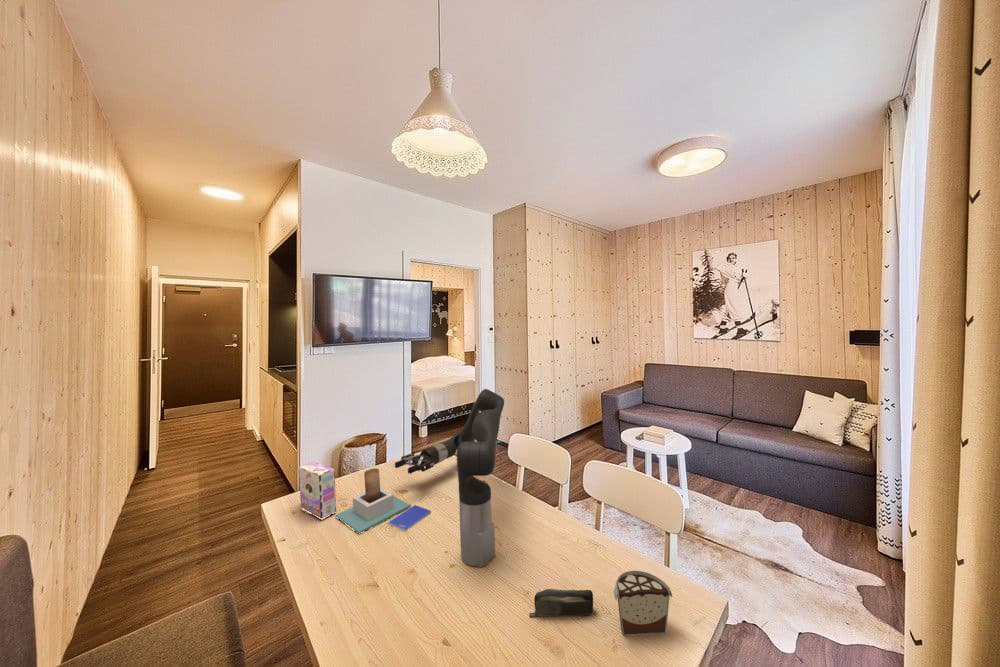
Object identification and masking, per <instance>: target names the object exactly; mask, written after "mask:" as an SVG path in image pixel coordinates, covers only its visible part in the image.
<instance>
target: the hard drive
mask: <svg viewBox="0 0 1000 667" xmlns="http://www.w3.org/2000/svg"><path fill="white" fill-rule="evenodd" d="M431 514H432V510H430V509H427V508H424V507H422V506H420V505H416V504H415V505H413V506H412V507H411V508H409V509H407V510H405V511H403V512H401V513H399V514H398V515H396V517H394V518H391V519H390V520H389V521H388V522H387V525H388V526H390V527H392V526H393V527H392V528H394V527H395V528H394V529H396V528H398V529H397V530H399V529H400V531H401V530H402V531H401V532H403V531H404V533H406V532H407V531H409V530H410V529H412V528H413V527H414V526H415V525H417V524H418V523H419V522H421V521H422V520H424V519H425V518H426V517H428V516H429V515H431ZM408 529H409V530H408Z"/></svg>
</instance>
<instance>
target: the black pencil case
mask: <svg viewBox="0 0 1000 667" xmlns="http://www.w3.org/2000/svg"><path fill="white" fill-rule="evenodd" d="M593 593H594V592H593V591H592V590H591V589H578V590H577V589H556V588H548V589H547V588H545V589H544V590H541V591H538V592H536V594H535V595H534V602H533V603H534V608H535V609H534V612H529V614H528V615H529V617H532V618H533V617H561V616H562V617H564V616H565V617H587V616H591V615H592V614H593V612H594V594H593Z"/></svg>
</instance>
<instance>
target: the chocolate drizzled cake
mask: <svg viewBox="0 0 1000 667" xmlns="http://www.w3.org/2000/svg"><path fill="white" fill-rule="evenodd" d="M613 594H614V599H615V601H617V603H618V605H617V606H618V612H619V614H618V615H619V622H620V630H621V634H622V637H633V636H649V635H666V634H667V626H668V625H667V624H668V616H669V615H668V614H669V607H670V597H671V598H673V593H672V590H671V588H670V586H669V585H668V584H667V583H666V582H665V581H664V580H662V579H661V578H659V577H658V576H656V575H654V574H652V573H649V572H647V571H642V570H629V571H625V572H623V573H621V574H620V575H619V576H618V578H617V580H616V581H615V585H614V589H613Z"/></svg>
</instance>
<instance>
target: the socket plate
mask: <svg viewBox="0 0 1000 667" xmlns="http://www.w3.org/2000/svg"><path fill="white" fill-rule="evenodd" d="M380 493H381V498H380V499H378V500H376V501H374V502H372V503H370V504H369V503H368V502H366V493H365V492H363V493H360V494H358V495H357V496H354V497H352V505H353V506H352V507H350V508H348V509H346V510H343V511H341V512H339V513H336V514H335V518H336V517H338V518H339V519H341V520H342V521H343V522H345V523H346V524H347V525H349V526H350V527H351V528H353V529H354V530H355V531H356V532H358V533H361V532H363V531H365V530H367V529H369V530H371V529H372V528H371V527H373V528H375V527H377V526H379V525H380V523H381V524H382V523H384V522H386V521H388V520H390V519H392V518H393V516H394V517H395V515H396V516H398V515H400V514H402V513H403V512H405V511H407V510H408V508H409V509H410V507H411V503H408V502H405V501H404V500H403V499H401V498H398V497H397V496H395V495H394V494H393V493H391V492H389V491H387V490H385V489H384V488H382V487H380ZM406 509H407V510H406ZM391 517H392V518H391ZM389 518H390V519H389ZM387 519H388V520H387ZM385 520H386V521H385ZM383 521H384V522H383ZM378 524H379V525H378ZM376 525H377V526H376ZM374 526H375V527H374ZM370 528H371V529H370ZM367 531H368V530H367ZM356 532H355V533H356Z"/></svg>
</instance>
